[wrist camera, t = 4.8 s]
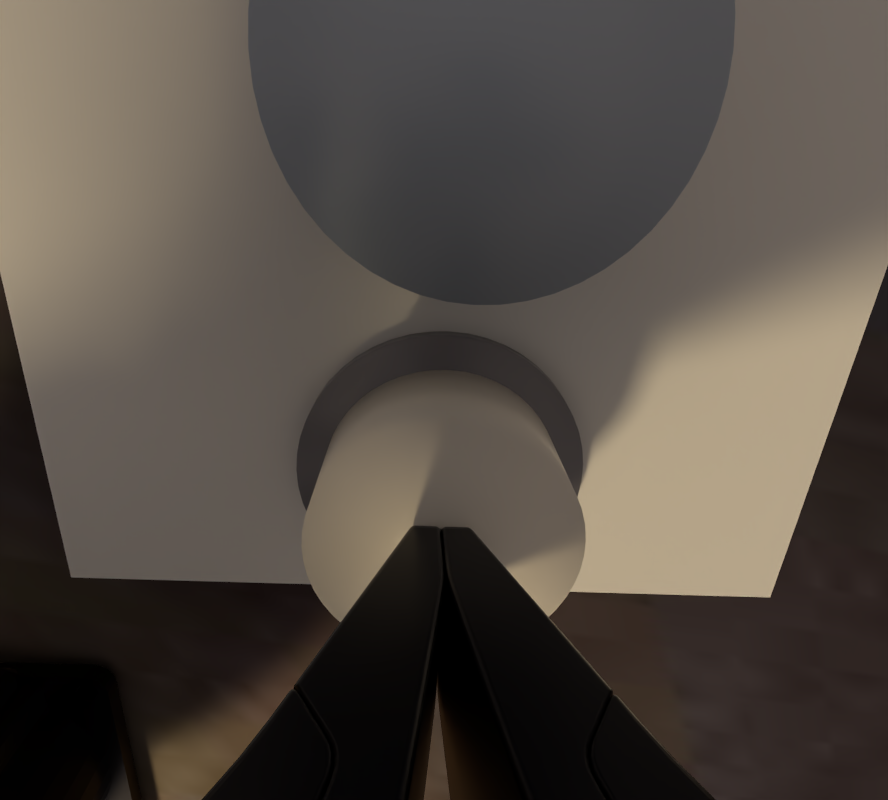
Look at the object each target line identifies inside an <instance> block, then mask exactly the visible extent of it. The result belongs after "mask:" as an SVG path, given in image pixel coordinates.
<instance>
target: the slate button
mask: <svg viewBox="0 0 888 800" xmlns="http://www.w3.org/2000/svg"><path fill="white" fill-rule="evenodd" d="M734 31H735V0H249V8H248V50H249V59H250V68H251V76H252V85H253V89H254V94H255V98H256V102H257V106H258V111H259V115H260V119H261V122H262V125H263V128H264V131H265V133H266V136H267V139H268V142H269V145H270V148H271V150H272V153H273V155H274V157H275V159H276V161H277V163H278V165H279V167H280V169H281V171H282V173H283V175H284V177H285V179H286V181H287V183H288V185H289V186H290V188H291V189H292V191H293V192H294V194H295V195H296V197H297V199H298V200H299V202H300V203H301V205H302V206H303V208H304V209H305V211H306V212H307V213H308V214H309V215H310V217H311V218H312V219H313V220H314V221H315V223H316V224H317V225H318V226H319V227H320V229H321V230H322V231H323V232H324V233H325V234H326V235H327V236H328V237H329V238H330V239H331V240H332V241H333V242H334V243H335V244H336V245H337V246H338V247H339V248H340V249H342V250H343V251H344V252H345V253H346V254H347V255H348V256H350V257H351V258H352V259H354V260H355V261H357V262H358V263H359V264H361V265H362V266H363V267H365V268H366V269H367V270H369V271H370V272H372V273H374V274H376V275H378V276H379V277H381V278H383V279H385V280H387V281H388V282H390V283H392V284H394V285H396V286H399V287H401V288H404V289H406V290H409V291H411V292H414V293H416V294H419V295H422V296H426V297H430V298H434V299H438V300H441V301H445V302H452V303H461V304H469V305H502V304H510V303H517V302H524V301H529V300H533V299H537V298H540V297H544V296H548V295H551V294H555V293H557V292H560V291H562V290H564V289H567V288H569V287H572V286H574V285H577V284H579V283H581V282H583V281H585V280H586V279H588V278H590V277H592V276H593V275H595V274H597V273H599V272H601V271H602V270H604V269H606V268H607V267H608V266H610V265H611V264H613V263H614V262H615V261H617V260H618V259H619V258H621V257H622V256H623V255H625V254H626V253H628V252H629V251H630V250H631V249H632V248H633V247H634V246H635V245H636V244H638V243H639V242H640V241H641V240H642V239H643V238H644V237H645V236H646V235H647V234H648V233H649V232H650V231H651V230H652V229H653V228H654V227H655V226H656V225H657V223H658V222H659V221H660V220H661V219H662V218H663V216H664V215H665V214H666V213H667V212H668V211H669V210H670V208H671V207H672V206H673V204H674V203H675V201H676V200H677V198H678V197H679V195H680V194H681V193H682V191H683V190H684V188H685V187H686V185H687V184H688V182H689V181H690V179H691V177H692V175H693V173H694V171H695V170H696V168H697V166H698V164H699V162H700V160H701V158H702V156H703V155H704V153H705V151H706V148H707V146H708V143H709V141H710V138H711V136H712V133H713V131H714V128H715V126H716V123H717V121H718V118H719V114H720V111H721V107H722V103H723V100H724V96H725V93H726V89H727V86H728V80H729V74H730V68H731V62H732V55H733V49H734Z"/></svg>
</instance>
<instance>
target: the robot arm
mask: <svg viewBox="0 0 888 800" xmlns="http://www.w3.org/2000/svg"><path fill="white" fill-rule="evenodd" d="M436 687H437V688H438V701H439V712H440V720H441V728H442V736H443V744H444V752H445V761H446V769H447V777H448V785H449V793H450V800H715V799H714V798H713V797H712V796H711V795H710V794H709V793H708V792H707V791H706V790H705V789H704V788H703V787H702V786H701V785H700V784H699V783H698V782H697V781H696V780H695V779H694V778H693V777H692V776H691V775H690V774H689V773H688V772H687V771H686V770H685V769H684V768H683V767H682V766H681V765H680V764H679V763H678V762H677V761H676V760H675V759H674V758H673V757H672V756H671V754H670V753H669V752H668V751H667V750H666V749H665V748H664V747H663V746H662V745H661V744H660V742H659V741H658V740H657V739H656V738H655V737H654V736H653V735H652V734H651V733H650V732H649V731H648V729H647V728H646V727H645V726H644V725H643V724H642V723H641V722H640V721H639V720H638V718H637V717H636V716H635V715H634V714H633V713H632V712H631V710H630V709H629V708H628V707H627V706H626V705H625V704H624V702H623V701H622V700H621V699H620V698H619V697H618V696H617V695H613V691H612V689H611V688H610V687H609V686H608V685H607V683H606V682H605V681H604V680H603V679H602V678H601V677H600V675H599V674H598V673H597V672H596V671H595V670H594V669H593V667H592V666H591V665H590V664H589V663H588V662H587V661H586V659H585V658H584V657H583V656H582V655H581V654H580V653H579V651H578V650H577V649H576V648H575V647H574V646H573V644H572V643H571V642H570V641H569V640H568V639H567V638H566V636H565V635H564V634H563V633H562V632H561V631H560V630H559V628H558V627H557V626H556V625H555V624H554V623H553V622H552V620H551V619H550V618H549V617H548V616H547V615H546V614H545V612H544V611H543V610H542V609H541V608H540V607H539V606H538V604H537V603H536V602H535V601H534V600H533V599H532V598H531V596H530V595H529V594H528V593H527V592H526V591H525V590H524V588H523V587H522V586H521V585H520V584H519V583H518V582H517V580H516V579H515V578H514V577H513V576H512V575H511V574H510V572H509V571H508V570H507V569H506V568H505V567H504V566H503V564H502V563H501V562H500V561H499V560H498V559H497V557H496V556H495V555H494V554H493V553H492V552H491V551H490V549H489V548H488V547H487V546H486V545H485V544H484V543H483V541H482V540H481V539H480V538H479V537H478V536H477V535H476V533H475V532H474V531H473V530H472V529H470V528H468V527H444V528H442V530H440V528H438V527H436V526H412V527H410V529H409V530H408V531H407V533H406V534H405V535H404V537H403V538H402V539H401V541H400V542H399V543H398V545H397V546H396V548H395V549H394V550H393V552H392V553H391V554H390V556H389V557H388V558H387V560H386V561H385V562H384V564H383V565H382V567H381V568H380V569H379V571H378V572H377V573H376V575H375V576H374V577H373V579H372V580H371V582H370V583H369V584H368V586H367V587H366V588H365V590H364V591H363V592H362V594H361V595H360V597H359V598H358V599H357V601H356V602H355V603H354V605H353V606H352V607H351V609H350V610H349V612H348V613H347V614H346V616H345V617H344V618H343V620H342V621H341V622H340V624H339V625H338V627H337V628H336V629H335V631H334V632H333V633H332V635H331V636H330V637H329V639H328V640H327V641H326V643H325V644H324V646H323V647H322V648H321V650H320V651H319V652H318V654H317V655H316V656H315V658H314V659H313V661H312V662H311V663H310V665H309V666H308V667H307V669H306V670H305V671H304V673H303V674H302V676H301V677H300V678H299V680H298V681H297V682H296V684H295V685H294V689H293V690H291V691H289V693H288V694H287V695H286V697H285V698H284V700H283V701H282V702H281V704H280V705H279V706H278V708H277V709H276V710H275V712H274V713H273V715H272V716H271V717H270V719H269V720H268V721H267V722H266V724H265V725H264V726H263V727H262V729H261V730H260V731H259V733H258V734H257V735H256V736H255V738H254V739H253V740H252V742H251V743H250V744H249V745H248V747H247V748H246V749H245V750H244V752H243V753H242V754H241V756H240V757H239V758H238V759H237V760H236V761H235V763H234V764H233V765H232V766H231V767H230V768H229V769H228V771H227V772H226V773H225V774H224V775H223V776H222V777H221V778H220V780H219V781H218V782H217V783H216V784H215V785H214V786H213V788H212V789H211V790H210V791H209V792H208V793H207V794H206V796H205V797H204V798H203V799H202V800H424V792H425V784H426V776H427V768H428V759H429V751H430V743H431V735H432V726H433V718H434V710H435V699H436ZM612 695H613V696H612ZM0 800H142V799H141V794H140V790H139V785H138V780H137V776H136V771H135V766H134V761H133V757H132V752H131V747H130V743H129V738H128V733H127V729H126V724H125V719H124V714H123V710H122V705H121V700H120V696H119V691H118V686H117V682H116V678H115V676H114V674H113V673H112V672H111V671H110V670H108V669H107V668H105V667H102V666H99V665H93V664H49V663H1V662H0Z"/></svg>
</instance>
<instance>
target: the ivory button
mask: <svg viewBox="0 0 888 800" xmlns="http://www.w3.org/2000/svg"><path fill="white" fill-rule="evenodd" d="M412 526H436V527H438V528H440V530H442V528H444V527H468V528H470V529H472V530H473V531H474V532H475V533H476V535H477V536H478V537H479V538H480V539H481V540H482V541H483V543H484V544H485V545H486V546H487V547H488V548H489V549H490V551H491V552H492V553H493V554H494V555H495V556H496V557H497V559H498V560H499V561H500V562H501V563H502V564H503V566H504V567H505V568H506V569H507V570H508V571H509V572H510V574H511V575H512V576H513V577H514V578H515V579H516V580H517V582H518V583H519V584H520V585H521V586H522V587H523V588H524V590H525V591H526V592H527V593H528V594H529V595H530V596H531V598H532V599H533V600H534V601H535V602H536V603H537V604H538V606H539V607H540V608H541V609H542V610H543V611H544V612H545V614H546V615H547V616H548V617H549V616H550V615H551V614H552V613H553V612H554V611H555V610H556V609H557V608H558V607H559V605H560V604H561V603H562V602H563V600H564V599H565V598H566V597H567V595H568V593H569V592H570V590H571V588H572V587H573V585H574V583H575V581H576V579H577V576H578V574H579V572H580V569H581V565H582V562H583V558H584V553H585V544H586V532H585V522H584V517H583V512H582V508H581V506H580V503H579V500H578V498H577V495H576V493H575V491H574V489H573V486H572V484H571V482H570V480H569V478H568V475H567V473H566V471H565V469H564V467H563V464H562V462H561V460H560V458H559V456H558V454H557V451H556V449H555V447H554V445H553V443H552V440H551V438H550V436H549V434H548V432H547V430H546V428H545V426H544V424H543V423H542V421H541V419H540V418H539V417H538V415H537V414H536V413H535V411H534V410H533V409H532V408H531V407H530V406H529V405H528V404H527V403H526V402H525V401H524V400H523V399H522V398H521V397H520V396H518V395H517V394H516V393H514V392H513V391H511V390H510V389H509V388H507V387H505V386H503V385H501V384H499V383H498V382H496V381H493V380H491V379H488V378H486V377H483V376H480V375H476V374H472V373H468V372H462V371H453V370H430V371H422V372H416V373H412V374H408V375H404V376H401V377H398V378H396V379H393V380H391V381H388V382H386V383H384V384H382V385H380V386H379V387H377V388H375V389H373V390H372V391H370V392H369V393H368V394H366V395H365V396H364V397H362V398H361V399H360V400H359V401H358V402H357V403H356V404H355V405H354V406H353V407H352V408H351V409H350V410H349V411H348V412H347V413H346V415H345V416H344V417H343V419H342V420H341V421H340V423H339V425H338V426H337V428H336V430H335V432H334V434H333V436H332V439H331V441H330V444H329V447H328V450H327V453H326V455H325V458H324V461H323V464H322V467H321V470H320V473H319V476H318V479H317V482H316V485H315V488H314V491H313V494H312V497H311V500H310V503H309V506H308V508H307V511H306V514H305V519H304V524H303V529H302V545H301V547H302V555H303V562H304V566H305V570H306V573H307V577H308V579H309V581H310V583H311V585H312V587H313V590H314V591H315V593H316V595H317V596H318V598H319V599H320V601H321V602H322V604H323V605H324V606H325V607H326V608H327V610H328V611H329V612H330V613H331V614H332V615H333V616H334V617H335V618H336V619H337V620H338V621H339V622H341V621H342V620H343V618H344V617H345V616H346V614H347V613H348V612H349V610H350V609H351V607H352V606H353V605H354V603H355V602H356V601H357V599H358V598H359V597H360V595H361V594H362V592H363V591H364V590H365V588H366V587H367V586H368V584H369V583H370V582H371V580H372V579H373V577H374V576H375V575H376V573H377V572H378V571H379V569H380V568H381V567H382V565H383V564H384V562H385V561H386V560H387V558H388V557H389V556H390V554H391V553H392V552H393V550H394V549H395V548H396V546H397V545H398V543H399V542H400V541H401V539H402V538H403V537H404V535H405V534H406V533H407V531H408V530H409V529H410V527H412Z"/></svg>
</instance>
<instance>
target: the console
mask: <svg viewBox="0 0 888 800" xmlns="http://www.w3.org/2000/svg"><path fill="white" fill-rule="evenodd" d="M248 8H249V0H0V273H1V278H2V282H3V286H4V291H5V295H6V299H7V304H8V308H9V312H10V317H11V321H12V325H13V330H14V334H15V338H16V342H17V347H18V351H19V355H20V360H21V364H22V368H23V373H24V377H25V381H26V386H27V390H28V394H29V398H30V403H31V407H32V411H33V416H34V420H35V424H36V429H37V433H38V437H39V442H40V446H41V450H42V454H43V459H44V463H45V467H46V472H47V476H48V480H49V485H50V489H51V493H52V498H53V502H54V506H55V510H56V515H57V519H58V523H59V528H60V532H61V536H62V541H63V545H64V549H65V554H66V558H67V562H68V566H69V571H70V575H71V577H73V578H108V579H143V580H179V581H214V582H249V583H284V584H311V583H310V581H309V579H308V577H307V573H306V570H305V566H304V562H303V555H302V547H301V545H302V529H303V524H304V519H305V514H306V511H307V508H308V506H309V503H310V500H311V497H312V494H313V491H314V488H315V485H316V482H317V479H318V476H319V473H320V470H321V467H322V464H323V461H324V458H325V455H326V453H327V450H328V447H329V444H330V441H331V439H332V436H333V434H334V432H335V430H336V428H337V426H338V425H339V423H340V421H341V420H342V419H343V417H344V416H345V415H346V413H347V412H348V411H349V410H350V409H351V408H352V407H353V406H354V405H355V404H356V403H357V402H358V401H359V400H360V399H361V398H362V397H364V396H365V395H366V394H368V393H369V392H370V391H372V390H373V389H375V388H377V387H379V386H380V385H382V384H384V383H386V382H388V381H391V380H393V379H396V378H398V377H401V376H404V375H408V374H412V373H416V372H422V371H430V370H453V371H462V372H468V373H472V374H476V375H480V376H483V377H486V378H488V379H491V380H493V381H496V382H498V383H499V384H501V385H503V386H505V387H507V388H509V389H510V390H511V391H513V392H514V393H516V394H517V395H518V396H520V397H521V398H522V399H523V400H524V401H525V402H526V403H527V404H528V405H529V406H530V407H531V408H532V409H533V410H534V411H535V413H536V414H537V415H538V417H539V418H540V419H541V421H542V423H543V424H544V426H545V428H546V430H547V432H548V434H549V436H550V438H551V440H552V443H553V445H554V447H555V449H556V451H557V454H558V456H559V458H560V460H561V462H562V464H563V467H564V469H565V471H566V473H567V475H568V478H569V480H570V482H571V484H572V486H573V489H574V491H575V493H576V495H577V498H578V500H579V503H580V506H581V508H582V512H583V517H584V522H585V532H586V544H585V553H584V558H583V562H582V565H581V569H580V572H579V574H578V576H577V579H576V581H575V583H574V585H573V587H572V588H571V590H570V592H601V593H636V594H672V595H707V596H742V597H770V596H771V593H772V591H773V588H774V585H775V582H776V579H777V577H778V574H779V571H780V568H781V565H782V562H783V560H784V557H785V554H786V551H787V548H788V545H789V543H790V540H791V537H792V534H793V531H794V528H795V526H796V523H797V520H798V517H799V514H800V512H801V509H802V506H803V503H804V500H805V497H806V495H807V492H808V489H809V486H810V483H811V480H812V478H813V475H814V472H815V469H816V466H817V464H818V461H819V458H820V455H821V452H822V449H823V447H824V444H825V441H826V438H827V435H828V432H829V430H830V427H831V424H832V421H833V418H834V416H835V413H836V410H837V407H838V404H839V401H840V399H841V396H842V393H843V390H844V387H845V384H846V382H847V379H848V376H849V373H850V370H851V368H852V365H853V362H854V359H855V356H856V353H857V351H858V348H859V345H860V342H861V339H862V336H863V334H864V331H865V328H866V325H867V322H868V319H869V317H870V314H871V311H872V308H873V305H874V303H875V300H876V297H877V294H878V291H879V288H880V286H881V283H882V280H883V277H884V274H885V271H886V269H887V266H888V0H735V31H734V49H733V55H732V62H731V68H730V74H729V80H728V86H727V89H726V93H725V96H724V100H723V103H722V107H721V111H720V114H719V118H718V121H717V123H716V126H715V128H714V131H713V133H712V136H711V138H710V141H709V143H708V146H707V148H706V151H705V153H704V155H703V156H702V158H701V160H700V162H699V164H698V166H697V168H696V170H695V171H694V173H693V175H692V177H691V179H690V181H689V182H688V184H687V185H686V187H685V188H684V190H683V191H682V193H681V194H680V195H679V197H678V198H677V200H676V201H675V203H674V204H673V206H672V207H671V208H670V210H669V211H668V212H667V213H666V214H665V215H664V216H663V218H662V219H661V220H660V221H659V222H658V223H657V225H656V226H655V227H654V228H653V229H652V230H651V231H650V232H649V233H648V234H647V235H646V236H645V237H644V238H643V239H642V240H641V241H640V242H639V243H638V244H636V245H635V246H634V247H633V248H632V249H631V250H630V251H629V252H628V253H626V254H625V255H623V256H622V257H621V258H619V259H618V260H617V261H615V262H614V263H613V264H611V265H610V266H608V267H607V268H606V269H604V270H602V271H601V272H599V273H597V274H595V275H593V276H592V277H590V278H588V279H586V280H585V281H583V282H581V283H579V284H577V285H574V286H572V287H569V288H567V289H564V290H562V291H560V292H557V293H555V294H551V295H548V296H544V297H540V298H537V299H533V300H529V301H524V302H517V303H510V304H502V305H469V304H461V303H452V302H445V301H441V300H438V299H434V298H430V297H426V296H422V295H419V294H416V293H414V292H411V291H409V290H406V289H404V288H401V287H399V286H396V285H394V284H392V283H390V282H388V281H387V280H385V279H383V278H381V277H379V276H378V275H376V274H374V273H372V272H370V271H369V270H367V269H366V268H365V267H363V266H362V265H361V264H359V263H358V262H357V261H355V260H354V259H352V258H351V257H350V256H348V255H347V254H346V253H345V252H344V251H343V250H342V249H340V248H339V247H338V246H337V245H336V244H335V243H334V242H333V241H332V240H331V239H330V238H329V237H328V236H327V235H326V234H325V233H324V232H323V231H322V230H321V229H320V227H319V226H318V225H317V224H316V223H315V221H314V220H313V219H312V218H311V217H310V215H309V214H308V213H307V212H306V211H305V209H304V208H303V206H302V205H301V203H300V202H299V200H298V199H297V197H296V195H295V194H294V192H293V191H292V189H291V188H290V186H289V185H288V183H287V181H286V179H285V177H284V175H283V173H282V171H281V169H280V167H279V165H278V163H277V161H276V159H275V157H274V155H273V153H272V150H271V148H270V145H269V142H268V139H267V136H266V133H265V131H264V128H263V125H262V122H261V119H260V115H259V111H258V106H257V102H256V98H255V94H254V89H253V85H252V76H251V68H250V59H249V50H248Z"/></svg>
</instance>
